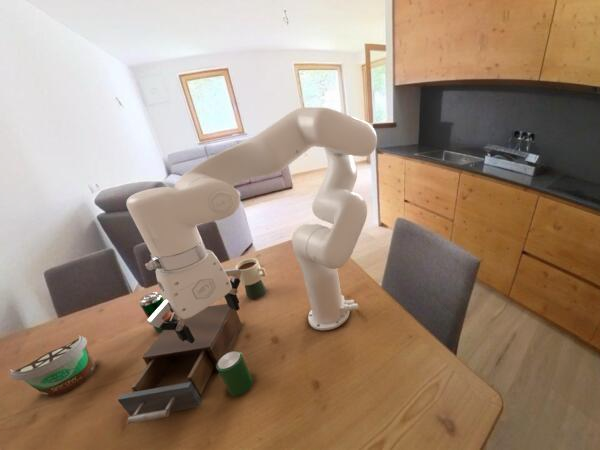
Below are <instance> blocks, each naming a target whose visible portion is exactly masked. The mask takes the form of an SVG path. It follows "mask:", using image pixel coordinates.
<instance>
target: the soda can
mask: <svg viewBox="0 0 600 450" xmlns="http://www.w3.org/2000/svg"><path fill="white" fill-rule="evenodd" d="M163 302H164V299H163V297H162V294H161V293H159V292H158V291H153V292H149V293H147V294H145V295H144V296H142V297H141V298H140V299H139V306H140V307H141V309H142V311H143V312H144V314H145V316H146V318H147V319H148V318H149V317H150V316H151V315H152V314H153V313H154V312H155V311H156V309H157V308H158V307H159V306H160V305H161V304H162V303H163ZM172 314H173V313H172V312H170V311H168V312H167V313H166V314H165V316H164V317H163V318H162V320H164V321H170V319H171V316H172ZM152 328H153V330H155V332H156V333H162V331H163V329H160V328H157V327H154V326H152Z"/></svg>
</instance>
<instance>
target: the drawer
mask: <svg viewBox="0 0 600 450" xmlns="http://www.w3.org/2000/svg"><path fill="white" fill-rule="evenodd" d="M214 367H215V365H214V363H213V361H212V359H211V357H210V355H209V353H208V351H207V350H203V351H196V352H190V353H184V354H178V355H172V356H166V357H160V358H154V359H151V361H150V362H149V364H148V365H147V364H146V366H145V367H144V368H143V370H142V372H140V374H139V376H138V377H137V378H136V380H135V381H134V383H133V384H132V386H131V387H130V389H131V390H132V391H131V392H126V393H120V395H119V397H118V398H117V401H118V403H119V404H120V405H121V406H122V408H123V409H124V410H125V411H126V413H127V414H128V415H129V417H128V418H127V420H126V423H127V424H128V425H132V424H136V423H142V422H148V421H152V420H158V419H162V418H168V417H169V416H170V414H171V413H172V412H178V411H183V410H187V409H194V408H199V407H201V405H202V403H203V399H202V398H201V395H202V393H203V392H204V390H205V387H206V386H207V383H208V381H209V379H210V377H211V375H212V373H213V372H212V371H213V369H214Z"/></svg>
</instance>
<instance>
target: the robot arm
mask: <svg viewBox="0 0 600 450" xmlns="http://www.w3.org/2000/svg"><path fill="white" fill-rule="evenodd" d="M377 144H378V136H377V132H376V130H375V129H374V127H373V126H372V125H371V124H369V123H368V122H366V121H364V120H362V119H359V118H357V117H354V116H351V115H349V114H346V113H343V112H342V111H341V112H340V111H338V110H335V109H332V108H328V107H319V106H318V107H317V106H316V107H308V106H307V107H299V108H296V109H294V110H292V111H290V112H289V113H287V114H286V115H284V116H282V117H281V118H280V119H278V120H276V122H274V123H272V124H271V125H269V126H268V127H266V128H265V129H263V130H262V131H260V132H259V133H257V134H255V135H254V136H252V137H250V138H248V139H245V140H244V141H241V142H239V143H237V144H235V145H233V146H231V147H229V148H226V149H224V150H222V151H220V152H217V153H215V154H214V155H212V156H210V157H208V158H206V159H205V160H203V161H201V162H200V163H199V164H197V165H196V166H194V167H192V168H191V169H189V170H187V171H186V172H185V173H184V174H182V175H181V176H180V177H179V179H177V181H176V183H175V185H174V186H173V187H171V186H160V187H153V188H149V189H145V190H141V191H137V192H136V193H134V194H132V195H130V196H129V197H128V198H127V199H126V202H125V203H126V208H127V211H128V213H129V214H130V217H131V218H132V220H133V222H134V224H135V226H136V228H137V230H138V232H139V234H140V236H141V237H142V239H143V241H144V243H145V245H146V247H147V249H148V250H149V252H150V260H149V262H146V263H145V264H144V266H145V268H146V270H148V271H149V272H150V271H152V270H155V277H156V281H157V285H158V288H159V292H160V295H162V297H163V299H164V302H163V303H162V304H161V305H160V306H159V307H158V308H157V309H156V311H155V312H154V313H153V314H152V315H151V316H150V317H149V318H148V317H147V320H146V323H147V324H148V325H150V326H152V327H153V326H154V327H157V328H160V329H163V330H175V332H176V333H177V335H178V337H179V338H180V340H182V341H185V340H187V341H188V342H190V343H193V342H194V340H195V339H194V337H193V335H192V333H191V332H190V330H189V328H188V327H187V326H186V325H185V322H186V319H187V318H190V317H192V316H194V315H196V314H197V313H199V312H200V311H202V310H204V309H205V308H207V307H208V306H212V305H213V304H214V303H216V302H218V301H220V300H221V299H222V298H224V299H225V302H226V304H228V306H229V307H230V308H232V309H234V310H236V311H237V312H238V311H239V310H241V308H240V305H239V304H240V301H239V298H238V295H237V294H238V293H239V290H238V289H239V286H240V284H241V283H240V276H241V270H239V269H237V268H235V267H234V268H226V269H224V267H223V264H222V263H221V262H220V260H219V259H218V257H217V255H216V254H215V253H214V252H213V250H211V249H207V248H206V246H205V244H204V241H203V239H202V237H201V233H200V232H199V230H198V229H199V228H198V227H197V225H201V224H206V223H211V222H215V221H221V220H224V219H227V218H229V217H230V216H232V215H234V214H235V213H236V212H237V211H238V209H239V207H240V205H241V196H240V193H239V191H238V190H237V188H235V186H236V185H238V184H240V183H242V182H244V181H246V180H249V179H252V178H256V177H263V176H269V175H272V174H276V173H279V172H281V171H283V170H285V169H286V168H287V167H289V166H290V165H291V164H292V163H293V162H295V161H296V160H297V159H299V158H300V157H301V156H302V155H304V153H306V152H308V151H309V150H310V149H311V148H313V147H317V148H323V150H324V151H325V154H326V158H327V159H326V160H327V167H326V171H325V173H324V176H323V179H322V181H321V184H320V186H319V187H318V190H317V192H316V195H315V196H314V199H313V201H312V207H311V210H312V214H313V215H314V216H315V217H316V218H318V219H319V220H321V221H323V222H326V223H329V224H332V226H331V228H330V227H328V226H325V225H322V224H319V223H317V222H316V223H315V222H305V223H302V224H300V225H299V226H297V227H296V228H295V230H294V231H293V233H292V237H291V246H292V249H293V253H294V255H295V257H296V259H297V261H298V264H299V266H300V269H301V273H302V277H303V282H304V285H305V289H306V293H307V297H308V301H309V306H310V311H309V312H308V315H307V319H308V324H309V325H310V327H311V328H313V329H314V330H318V331H330V330H334V329H337V328H338V327H340V326H341V325H343V324H344V323H345V322H346V321H347V319H348V318H349V317H350V312H351V311H359V304H358V303H355V299H349V300H347V299H345V295H342V290H341V284H340V279H339V272H338V271H339V270H338V269H341V268H342V267H344V266H345V265H346V264H347V263H348V262H349V261H350V259H351V257H352V254H353V252H354V250H355V248H356V245H357V243H358V240H359V238H360V236H361V233H362V231H363V229H364V226H365V223H366V220H367V217H368V206H367V202H366V200H365V199H364V197H362V195H360V194H359V193H355V192H353V190H354V188H355V185H356V182H357V178H358V169H357V165H356V161H355V157H359V158H360V157H361V158H363V157H367V156H370V155H371V154H372V153H373V152H374V151H375V150H376V148H377ZM229 277H231V278H229ZM168 311H170V312H171V314H172V316H171V319H170V321H164V320H162V318H163V317H164V316H165V314H166V313H167V312H168ZM154 327H153V328H154Z"/></svg>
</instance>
